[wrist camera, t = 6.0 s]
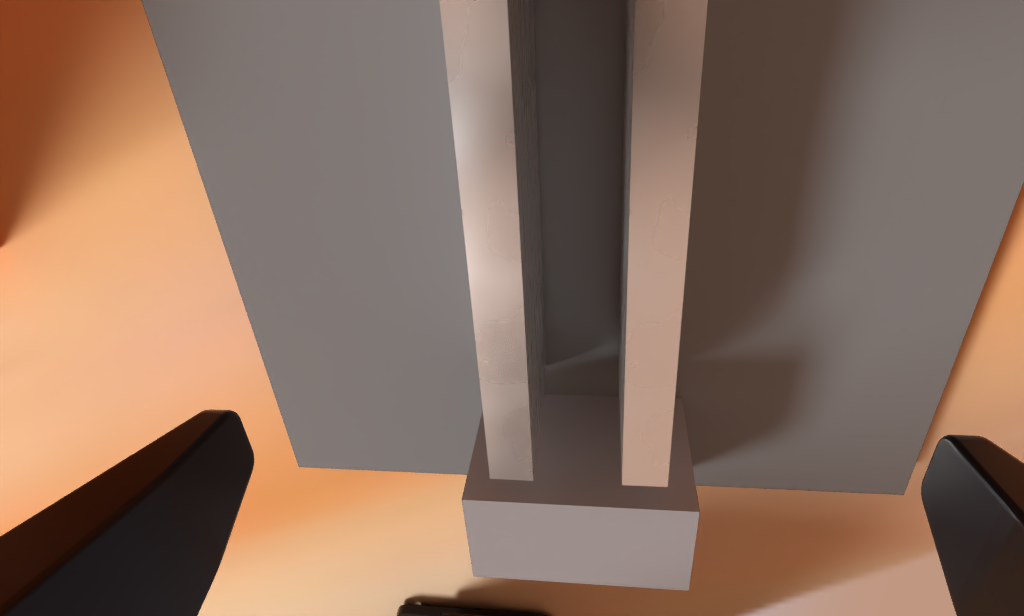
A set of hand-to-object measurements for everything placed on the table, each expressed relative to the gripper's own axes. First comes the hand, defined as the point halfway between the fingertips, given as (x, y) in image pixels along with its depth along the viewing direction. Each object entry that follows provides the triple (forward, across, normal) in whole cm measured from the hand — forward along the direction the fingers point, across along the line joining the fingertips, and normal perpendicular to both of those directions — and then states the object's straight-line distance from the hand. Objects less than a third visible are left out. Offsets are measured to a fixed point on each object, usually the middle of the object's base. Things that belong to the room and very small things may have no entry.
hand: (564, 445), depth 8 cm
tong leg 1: (+8, +1, -2) cm, 8 cm away
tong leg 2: (+8, -1, -2) cm, 8 cm away
